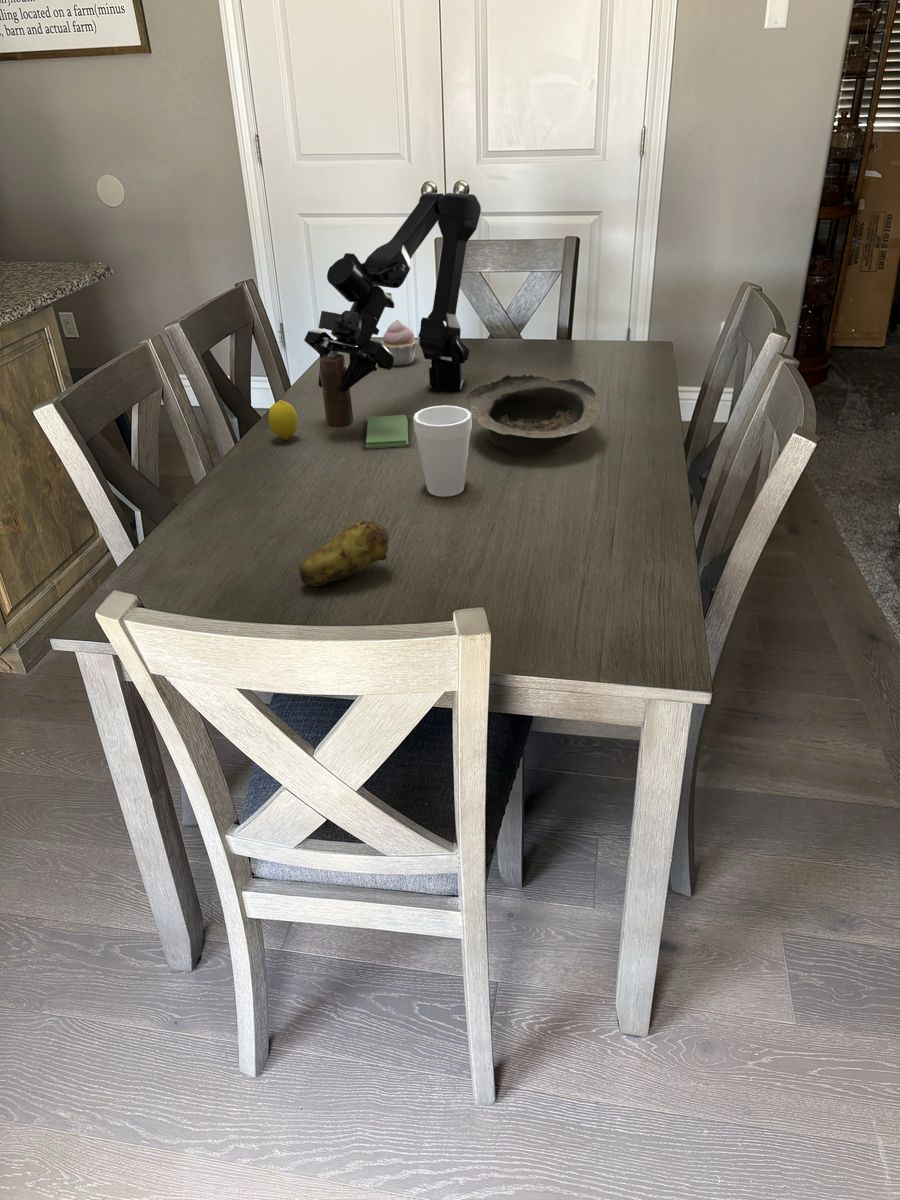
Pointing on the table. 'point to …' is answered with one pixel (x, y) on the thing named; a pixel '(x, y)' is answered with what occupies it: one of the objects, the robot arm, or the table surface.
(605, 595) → the table surface
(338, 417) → the pepper mill
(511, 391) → the stone bowl
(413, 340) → the cupcake
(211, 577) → the table surface
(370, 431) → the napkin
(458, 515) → the table surface
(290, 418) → the lemon
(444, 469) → the foam cup
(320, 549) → the potato
